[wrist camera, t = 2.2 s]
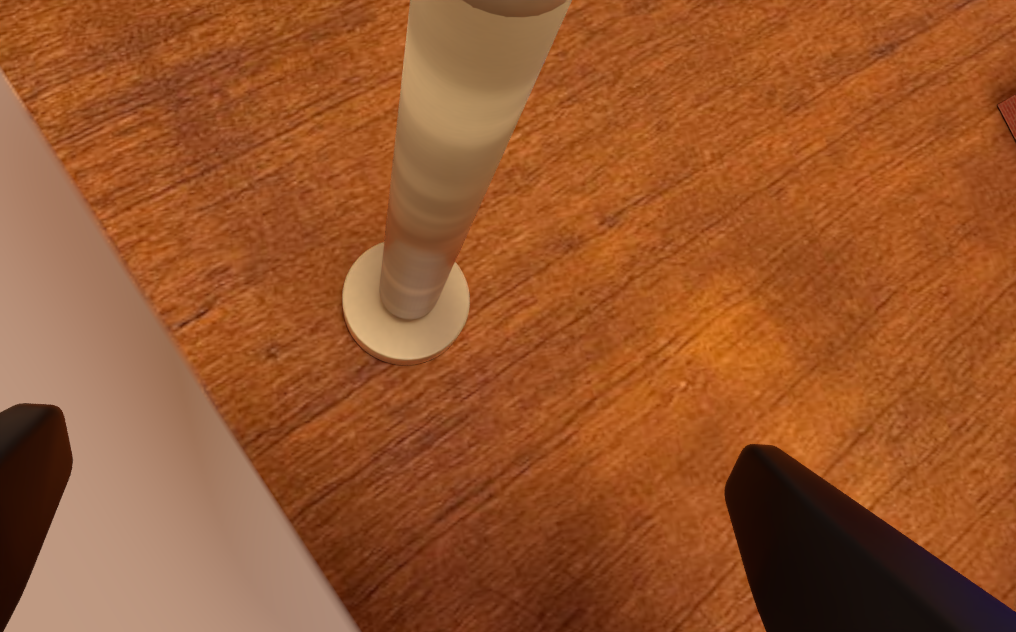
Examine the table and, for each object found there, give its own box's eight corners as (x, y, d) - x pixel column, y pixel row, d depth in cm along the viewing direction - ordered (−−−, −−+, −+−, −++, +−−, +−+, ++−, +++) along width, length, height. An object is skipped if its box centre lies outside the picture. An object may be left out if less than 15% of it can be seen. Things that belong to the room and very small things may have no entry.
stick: (387, 389, 20) (473, 131, 5) (318, 287, 21) (204, -244, 5) (488, 323, 22) (795, -41, 6) (421, 227, 22) (564, -336, 7)
